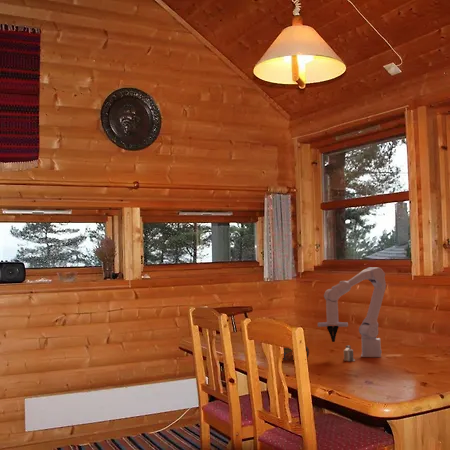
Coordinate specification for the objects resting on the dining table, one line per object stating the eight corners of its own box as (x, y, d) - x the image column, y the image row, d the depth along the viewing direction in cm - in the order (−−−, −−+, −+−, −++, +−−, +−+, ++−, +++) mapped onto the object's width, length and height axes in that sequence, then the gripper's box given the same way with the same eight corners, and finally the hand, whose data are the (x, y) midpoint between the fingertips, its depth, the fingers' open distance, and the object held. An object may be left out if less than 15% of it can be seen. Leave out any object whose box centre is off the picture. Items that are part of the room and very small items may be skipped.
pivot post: (353, 356, 308) (352, 345, 309) (352, 357, 304) (352, 346, 304) (344, 356, 310) (343, 345, 310) (343, 357, 305) (343, 346, 306)
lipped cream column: (346, 356, 306) (345, 347, 306) (350, 357, 305) (349, 347, 305) (343, 360, 296) (343, 350, 296) (348, 360, 295) (347, 350, 296)
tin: (278, 360, 304) (278, 342, 304) (281, 358, 307) (280, 341, 307) (308, 361, 297) (307, 344, 297) (310, 360, 300) (309, 343, 300)
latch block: (355, 359, 299) (354, 349, 300) (354, 361, 294) (354, 350, 295) (348, 359, 300) (348, 349, 300) (347, 361, 295) (347, 350, 295)
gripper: (316, 314, 302) (317, 342, 302) (346, 314, 299) (348, 342, 298) (318, 313, 309) (319, 340, 309) (347, 312, 306) (348, 340, 305)
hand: (333, 341), depth 304 cm, fingers closed
